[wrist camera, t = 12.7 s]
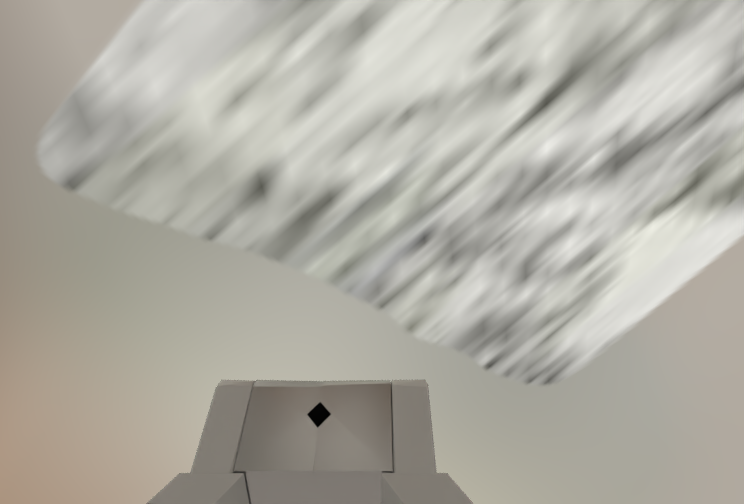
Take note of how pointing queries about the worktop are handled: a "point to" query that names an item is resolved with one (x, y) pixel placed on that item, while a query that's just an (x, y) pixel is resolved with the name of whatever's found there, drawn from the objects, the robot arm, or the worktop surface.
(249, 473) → the robot arm
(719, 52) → the worktop surface
